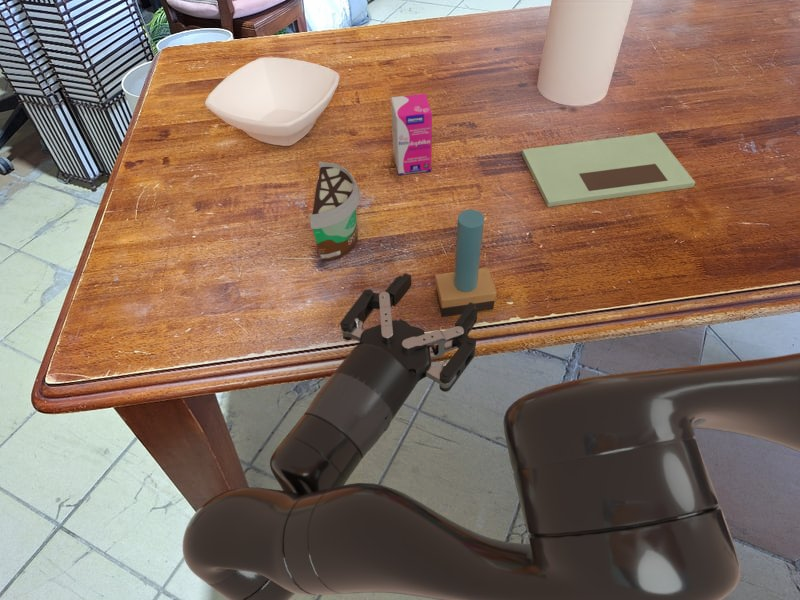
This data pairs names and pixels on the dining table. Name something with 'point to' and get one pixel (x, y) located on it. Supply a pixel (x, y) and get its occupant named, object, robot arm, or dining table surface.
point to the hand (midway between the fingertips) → (440, 292)
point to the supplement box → (411, 133)
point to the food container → (335, 212)
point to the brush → (466, 271)
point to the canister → (581, 49)
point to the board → (605, 169)
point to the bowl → (274, 98)
